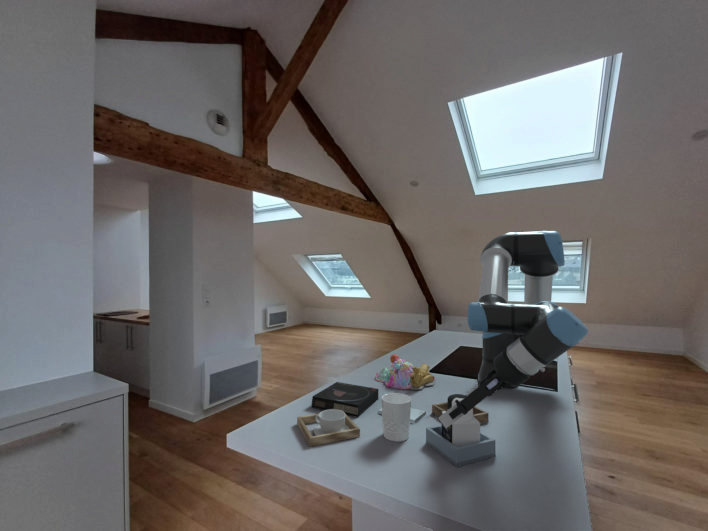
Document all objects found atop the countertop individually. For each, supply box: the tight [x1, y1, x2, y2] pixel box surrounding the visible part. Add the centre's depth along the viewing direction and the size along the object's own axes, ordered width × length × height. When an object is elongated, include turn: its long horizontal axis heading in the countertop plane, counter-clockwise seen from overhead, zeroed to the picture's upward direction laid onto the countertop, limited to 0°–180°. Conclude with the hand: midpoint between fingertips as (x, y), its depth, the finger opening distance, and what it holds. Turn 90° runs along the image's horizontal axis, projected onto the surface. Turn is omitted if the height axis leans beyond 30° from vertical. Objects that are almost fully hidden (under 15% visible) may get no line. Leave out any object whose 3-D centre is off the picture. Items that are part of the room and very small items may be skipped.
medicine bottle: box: [441, 393, 481, 447], centre depth 82 cm, size 7×7×12 cm
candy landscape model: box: [375, 353, 436, 391], centre depth 136 cm, size 25×24×9 cm
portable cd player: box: [311, 381, 379, 418], centre depth 111 cm, size 16×17×4 cm
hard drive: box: [377, 407, 427, 425], centre depth 103 cm, size 2×8×12 cm
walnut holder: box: [431, 401, 489, 424], centre depth 101 cm, size 12×12×2 cm
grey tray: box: [425, 424, 496, 468], centre depth 82 cm, size 12×12×4 cm
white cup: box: [381, 392, 412, 443], centre depth 89 cm, size 8×8×10 cm
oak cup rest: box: [296, 410, 361, 447], centre depth 91 cm, size 14×14×2 cm
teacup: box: [313, 409, 350, 436], centre depth 91 cm, size 10×10×5 cm
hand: (453, 413), depth 83 cm, fingers open, 13 cm apart
